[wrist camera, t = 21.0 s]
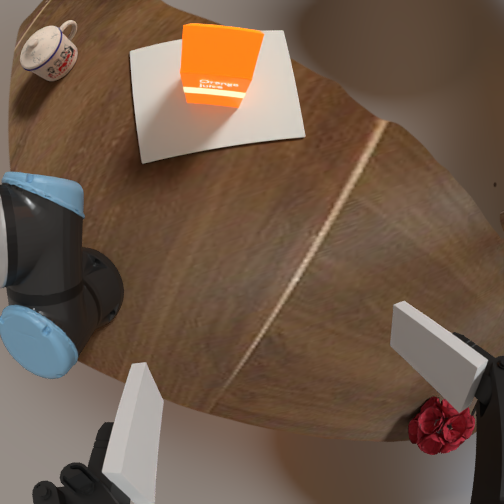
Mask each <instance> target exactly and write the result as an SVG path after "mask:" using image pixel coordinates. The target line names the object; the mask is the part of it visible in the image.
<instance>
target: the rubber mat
mask: <svg viewBox="0 0 504 504" xmlns="http://www.w3.org/2000/svg"><path fill="white" fill-rule="evenodd" d="M260 32H262V33H263V34H264V37H263V41H262V44H261V48H260V51H259V55H258V59H257V62H256V66H255V70H254V73H253V78H252V81H251V83H250V85H249V87H248V89H247V91H246V94H245V96H244V98H243V100H242V102H241V104H240V106H239V108H237V107H229V106H220V105H210V104H199V103H187V100H186V96H185V92H184V89H183V83H182V79H181V75H180V68H181V52H182V39H181V40H175V41H170V42H165V43H161V44H156V45H152V46H148V47H144V48H140V49H136V50H133V51H130V62H131V76H132V88H133V99H134V109H135V117H136V126H137V133H138V141H139V148H140V154H141V161H142V164H144V163H148V162H153V161H157V160H161V159H166V158H170V157H175V156H179V155H184V154H189V153H194V152H200V151H205V150H211V149H216V148H222V147H228V146H235V145H241V144H248V143H256V142H264V141H272V140H281V139H291V138H301V137H305V132H304V126H303V120H302V115H301V109H300V104H299V99H298V94H297V89H296V84H295V79H294V74H293V70H292V65H291V61H290V57H289V52H288V48H287V44H286V40H285V36H284V32H283V31H260Z"/></svg>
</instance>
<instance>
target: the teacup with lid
mask: <svg viewBox="0 0 504 504" xmlns="http://www.w3.org/2000/svg"><path fill="white" fill-rule="evenodd" d="M69 25H72V30H71V33H70V34H69V36H68V37H66V36H65V35H64V34H63V33H62V32H63V31H64V29H65V28H66V27H67V26H69ZM76 31H77V24H76V22H75V21H72V20H69V21H67V22H65V23H64V24H63V25H62V26H61V27H60V28H58V27H56V26H47V27H44V28H42V29H40V30H38V31H37V32H36V33H34V34H33V35H32V36H31V37H30V38H29V39H28V41H27V42H26V44H25V45H24V47H23V49H22V52H21V56H20V62H21V65H22V67H23V68H24V69H25V70H27V71H31V72H33V73H35V74H37V75H38V76H40V77H42V78H44V79H45V80H48V81H55V80H58V79H60V78H62V77H63V76H65V75H66V74H67V73H68V72H69V71H70V70H71V69H72V67H73V66H74V64H75V62H76V60H77V55H78V51H77V48H76V46H75V45H74V44H73V43H72V42H71V40H72V38H73V37H74V35H75V34H76Z"/></svg>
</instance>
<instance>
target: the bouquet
mask: <svg viewBox="0 0 504 504" xmlns="http://www.w3.org/2000/svg"><path fill="white" fill-rule="evenodd" d="M434 420H435V421H434ZM408 427H409V428H408V433H409V439H410V441H411V442H412V443H413V444H416V443H417V445H418V447H419V448H420V450H421V451H423V452H424V453H427V454H430V455H435V454H437V453H438V452H439V453H440V452H441V453H448V452H450V451H453V450H456V449H457V448H458V447H459V446H460V444H462V443H463V442H464V441H465V440H466V439H468V438H469V437H470V435H471V434H472V431H473V429H474V427H475V418H474V416H471V415H470V410H469V407H467V408H466V409H465V410H463V411H462V412H460V413H459V412H458V411H457V410H456V409H455V408H454V407H453V406H452V405H451V404H450V403H449V402H448V401H447V400H446V399H443V400H442V401H441V404H440V401H439V399H438V398H437V397H431V398H430V399H428V401H427V402H426V403H425V404H424V405H423V406H422V407H421V412H420V413H418V414H417V415H416V417H415V418H414V419H412V420H411V421H410V423H409V426H408ZM451 428H453V429H452V430H450V429H451Z"/></svg>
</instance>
